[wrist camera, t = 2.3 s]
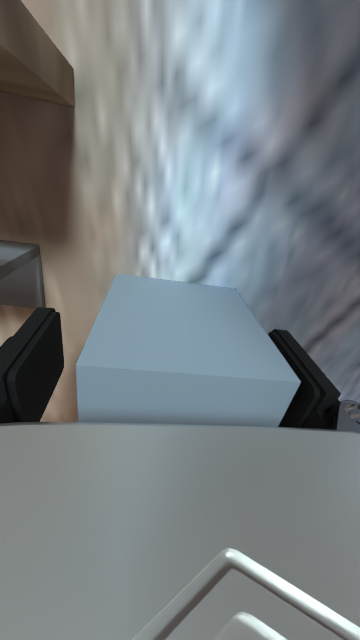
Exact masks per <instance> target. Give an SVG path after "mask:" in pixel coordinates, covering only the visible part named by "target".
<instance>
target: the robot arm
mask: <svg viewBox="0 0 360 640" xmlns="http://www.w3.org/2000/svg"><path fill="white" fill-rule="evenodd" d="M268 336H269V337H270V339H271V340H272V341H273V343H274V344H275V346H276V347H277V349H278V350H279V351H280V353H281V354H282V356H283V357H284V358H285V360H286V361H287V363H288V364H289V366H290V367H291V368H292V370H293V371H294V373H295V374H296V376H297V377H298V378H299V380H300V381H301V383H300V385H299V387H298V389H297V391H296V393H295V395H294V397H293V399H292V401H291V402H290V404H289V406H288V408H287V410H286V412H285V414H284V416H283V418H282V420H281V422H280V424H279V426H278V427H255V426H223V425H186V424H145V423H97V422H40V420H41V418H42V415H43V413H44V411H45V409H46V407H47V404H48V402H49V400H50V398H51V396H52V393H53V391H54V389H55V387H56V385H57V382H58V380H59V378H60V376H61V374H62V371H63V368H64V356H63V344H62V332H61V320H60V313H59V312H55V309H54V308H46V307H38V308H37V309H36V310H35V311H34V312H33V313H32V315H31V316H30V317H29V318H28V319H27V320H26V322H25V323H24V324H23V325H22V326H21V327H20V329H19V330H18V331H17V332H16V333H15V334H14V336H12V337H9V338H8V339H7V340H6V341H5V342H4V343H3V345H2V346H1V347H0V640H360V403H358V402H356V401H352V400H344V401H342V402H341V403H340V401H339V400H338V398H339V396H340V395H341V393H340V392H339V391H338V390H337V389H336V387H335V386H334V385H333V384H332V383H331V381H330V380H329V379H328V378H327V377H326V376H325V374H324V373H323V372H322V371H321V370H320V368H319V367H318V366H317V365H316V364H315V363H314V361H313V360H312V359H311V358H310V357H309V356H308V354H307V353H306V352H305V351H304V350H303V348H302V347H301V346H300V345H299V344H298V343H297V341H296V340H295V339H294V338H293V337H292V335H291V334H290V333H289V332H288V331H287V330H277V329H274V330H273V331H272V332H270V333H269V334H268Z"/></svg>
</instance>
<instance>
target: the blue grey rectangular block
mask: <svg viewBox="0 0 360 640" xmlns="http://www.w3.org/2000/svg"><path fill="white" fill-rule="evenodd" d="M76 382H77V403H78V422H97V423H145V424H186V425H223V426H255V427H278V426H279V424H280V422H281V420H282V418H283V416H284V414H285V412H286V410H287V408H288V406H289V404H290V402H291V401H292V399H293V397H294V395H295V393H296V391H297V389H298V387H299V385H300V383H301V381H300V380H299V378H298V377H297V376H296V374H295V373H294V371H293V370H292V368H291V367H290V366H289V364H288V363H287V361H286V360H285V358H284V357H283V356H282V354H281V353H280V351H279V350H278V349H277V347H276V346H275V344H274V343H273V341H272V340H271V339H270V337H269V336H268V334H267V333H266V331H265V330H264V329H263V327H262V326H261V324H260V323H259V321H258V320H257V319H256V317H255V316H254V314H253V313H252V312H251V310H250V309H249V307H248V306H247V304H246V303H245V302H244V300H243V299H242V297H241V296H240V294H239V293H238V292H237V290H236V289H233V288H226V287H218V286H210V285H202V284H194V283H187V282H179V281H171V280H163V279H155V278H148V277H140V276H132V275H124V274H116V277H115V279H114V281H113V283H112V285H111V288H110V290H109V292H108V294H107V297H106V299H105V301H104V303H103V305H102V308H101V310H100V312H99V314H98V317H97V319H96V321H95V323H94V325H93V328H92V330H91V332H90V334H89V337H88V339H87V341H86V343H85V345H84V348H83V350H82V352H81V354H80V357H79V359H78V361H77V363H76Z"/></svg>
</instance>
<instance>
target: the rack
mask: <svg viewBox="0 0 360 640" xmlns="http://www.w3.org/2000/svg"><path fill="white" fill-rule="evenodd" d="M0 91H1V92H6V93H10V94H15V95H20V96H24V97H29V98H33V99H38V100H43V101H47V102H52V103H57V104H61V105H66V106H71V107H74V77H73V68H72V66H71V65H70V64H69V63H68V61H67V60H66V59H65V57H64V56H63V55H62V53H61V52H60V51H59V50H58V48H57V47H56V46H55V44H54V43H53V42H52V41H51V39H50V38H49V37H48V35H47V34H46V33H45V31H44V30H43V29H42V28H41V26H40V25H39V24H38V22H37V21H36V20H35V19H34V17H33V16H32V15H31V13H30V12H29V11H28V9H27V8H26V7H25V6H24V4H23V3H22V2H21V0H0ZM0 304H2V305H12V306H21V307H31V308H38V307H45V298H44V289H43V279H42V270H41V260H40V251H39V245H32V244H25V243H18V242H11V241H3V240H0Z"/></svg>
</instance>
